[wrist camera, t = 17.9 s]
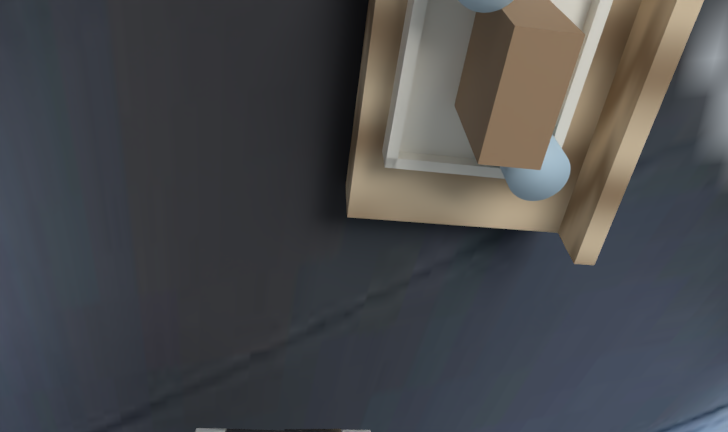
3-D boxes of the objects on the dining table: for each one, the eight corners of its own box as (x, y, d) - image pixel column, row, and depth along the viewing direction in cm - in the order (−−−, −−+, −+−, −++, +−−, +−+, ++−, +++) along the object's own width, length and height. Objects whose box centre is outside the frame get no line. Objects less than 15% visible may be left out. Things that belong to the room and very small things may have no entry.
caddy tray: (540, 166, 36) (581, 240, 30) (382, 150, 35) (393, 224, 29) (623, -85, 28) (699, -52, 23) (427, -114, 27) (455, -87, 22)
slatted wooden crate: (559, 202, 41) (594, 265, 36) (345, 185, 40) (348, 248, 34) (699, -198, 29) (784, -194, 24) (399, -245, 28) (417, -251, 22)
